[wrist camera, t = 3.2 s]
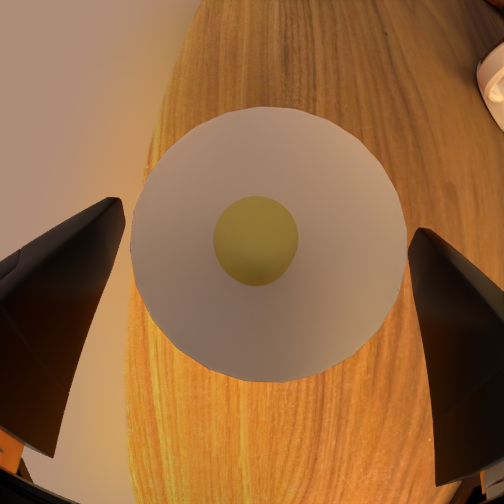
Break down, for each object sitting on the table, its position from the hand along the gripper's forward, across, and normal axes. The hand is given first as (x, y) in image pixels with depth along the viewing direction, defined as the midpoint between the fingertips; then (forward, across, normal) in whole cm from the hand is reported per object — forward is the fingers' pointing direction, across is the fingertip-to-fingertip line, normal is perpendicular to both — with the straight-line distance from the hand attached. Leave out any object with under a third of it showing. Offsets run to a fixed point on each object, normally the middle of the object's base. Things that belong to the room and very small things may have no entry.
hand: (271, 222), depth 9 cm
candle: (+6, 0, +6) cm, 9 cm away
